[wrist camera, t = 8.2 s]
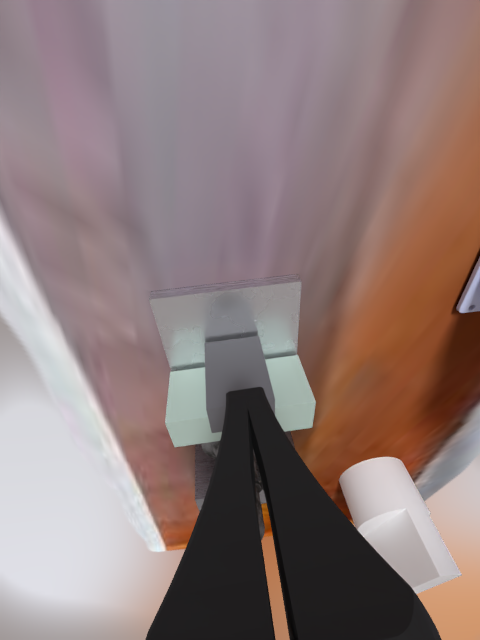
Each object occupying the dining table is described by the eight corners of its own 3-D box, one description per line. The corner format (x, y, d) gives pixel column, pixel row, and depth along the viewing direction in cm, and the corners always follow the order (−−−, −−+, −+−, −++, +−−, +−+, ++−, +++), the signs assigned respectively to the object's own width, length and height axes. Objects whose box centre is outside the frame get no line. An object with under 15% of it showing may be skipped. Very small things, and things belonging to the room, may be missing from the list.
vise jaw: (299, 330, 22) (325, 392, 17) (296, 380, 25) (317, 443, 21) (162, 348, 21) (153, 416, 17) (177, 396, 25) (173, 463, 20)
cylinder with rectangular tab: (362, 454, 37) (418, 576, 28) (417, 459, 40) (484, 573, 31) (327, 487, 42) (364, 601, 33) (377, 490, 45) (425, 596, 35)
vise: (297, 274, 20) (326, 326, 16) (288, 442, 34) (302, 497, 29) (151, 291, 20) (137, 350, 15) (199, 454, 33) (200, 512, 29)
